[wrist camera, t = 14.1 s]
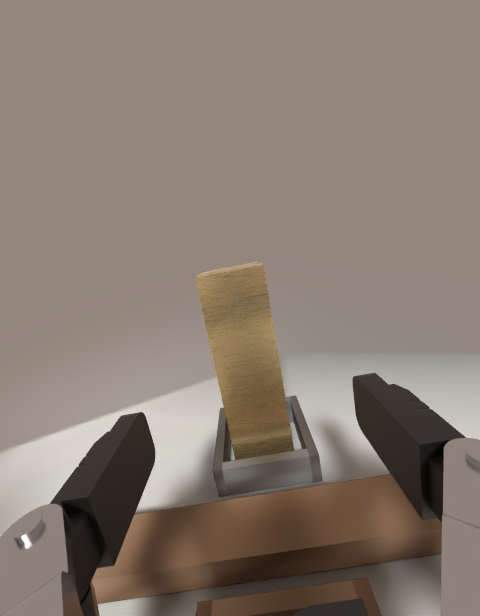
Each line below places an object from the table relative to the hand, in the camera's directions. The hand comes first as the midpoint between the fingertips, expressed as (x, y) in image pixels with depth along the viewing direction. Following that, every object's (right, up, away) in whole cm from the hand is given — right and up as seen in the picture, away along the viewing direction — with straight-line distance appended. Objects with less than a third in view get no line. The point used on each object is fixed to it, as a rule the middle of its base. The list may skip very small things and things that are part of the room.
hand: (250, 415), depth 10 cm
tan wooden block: (+2, -7, +10) cm, 12 cm away
